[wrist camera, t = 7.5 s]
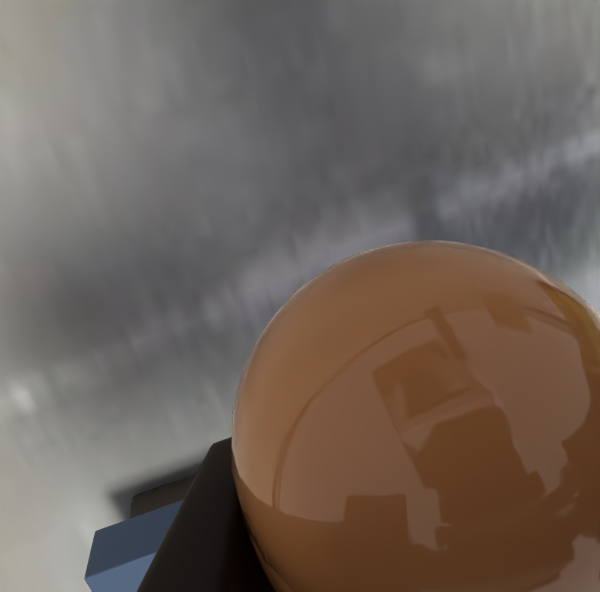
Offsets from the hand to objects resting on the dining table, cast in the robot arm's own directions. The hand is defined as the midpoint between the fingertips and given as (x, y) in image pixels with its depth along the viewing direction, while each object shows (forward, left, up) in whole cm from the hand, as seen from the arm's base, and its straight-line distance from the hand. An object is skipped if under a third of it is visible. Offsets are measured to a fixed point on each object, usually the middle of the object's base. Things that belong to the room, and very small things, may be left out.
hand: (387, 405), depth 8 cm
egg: (0, 0, +2) cm, 2 cm away
